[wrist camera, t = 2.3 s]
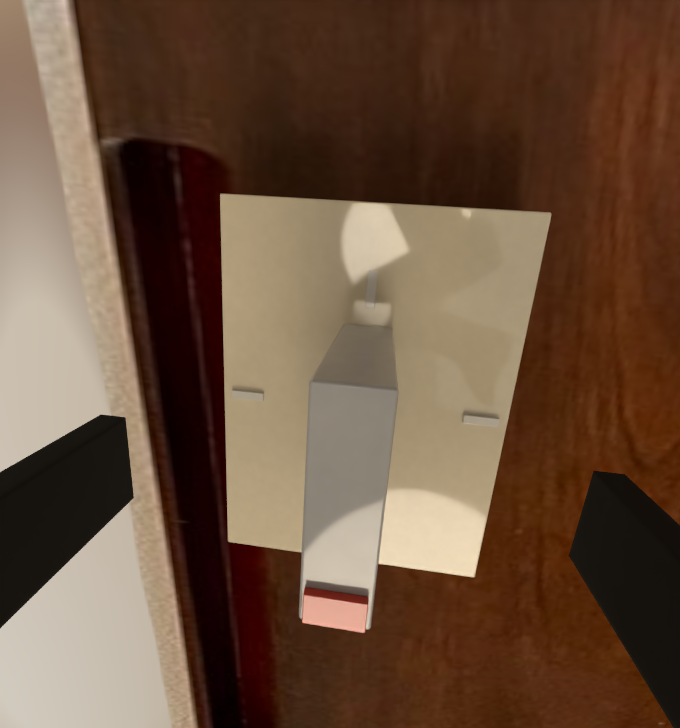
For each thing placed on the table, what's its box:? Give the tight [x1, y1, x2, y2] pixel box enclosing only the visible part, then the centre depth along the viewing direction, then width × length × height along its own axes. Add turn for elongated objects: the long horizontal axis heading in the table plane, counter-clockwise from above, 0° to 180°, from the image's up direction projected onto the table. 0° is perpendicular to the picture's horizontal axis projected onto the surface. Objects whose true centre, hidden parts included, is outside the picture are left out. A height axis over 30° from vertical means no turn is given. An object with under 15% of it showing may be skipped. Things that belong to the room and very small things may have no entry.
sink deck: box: [220, 193, 552, 577], centre depth 17 cm, size 16×12×3 cm
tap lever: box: [299, 324, 399, 633], centre depth 13 cm, size 7×2×7 cm, turn 176°
